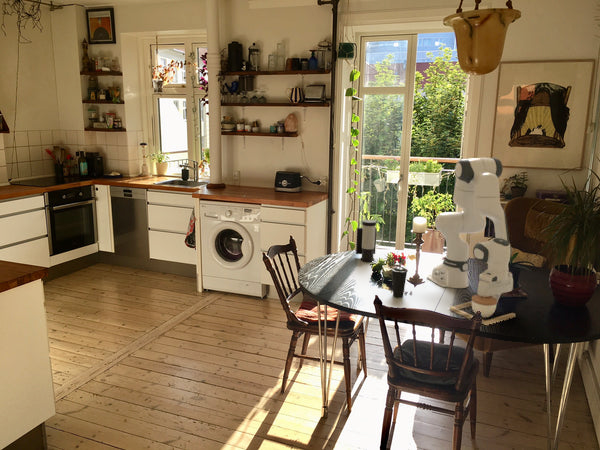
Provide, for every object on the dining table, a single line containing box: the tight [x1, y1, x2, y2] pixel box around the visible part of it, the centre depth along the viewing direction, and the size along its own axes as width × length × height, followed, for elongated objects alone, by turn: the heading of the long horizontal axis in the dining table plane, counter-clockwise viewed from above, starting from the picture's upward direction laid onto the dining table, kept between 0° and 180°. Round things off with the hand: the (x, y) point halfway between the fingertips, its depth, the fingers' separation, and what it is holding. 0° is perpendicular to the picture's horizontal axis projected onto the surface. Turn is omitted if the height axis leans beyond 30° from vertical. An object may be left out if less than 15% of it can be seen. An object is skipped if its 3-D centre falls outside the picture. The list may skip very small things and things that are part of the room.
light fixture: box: [355, 219, 377, 263], centre depth 299 cm, size 12×11×25 cm
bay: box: [449, 300, 517, 326], centre depth 223 cm, size 20×20×2 cm
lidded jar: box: [471, 294, 498, 319], centre depth 220 cm, size 11×11×9 cm
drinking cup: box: [391, 256, 408, 299], centre depth 240 cm, size 8×8×20 cm
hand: (494, 302), depth 226 cm, fingers closed
